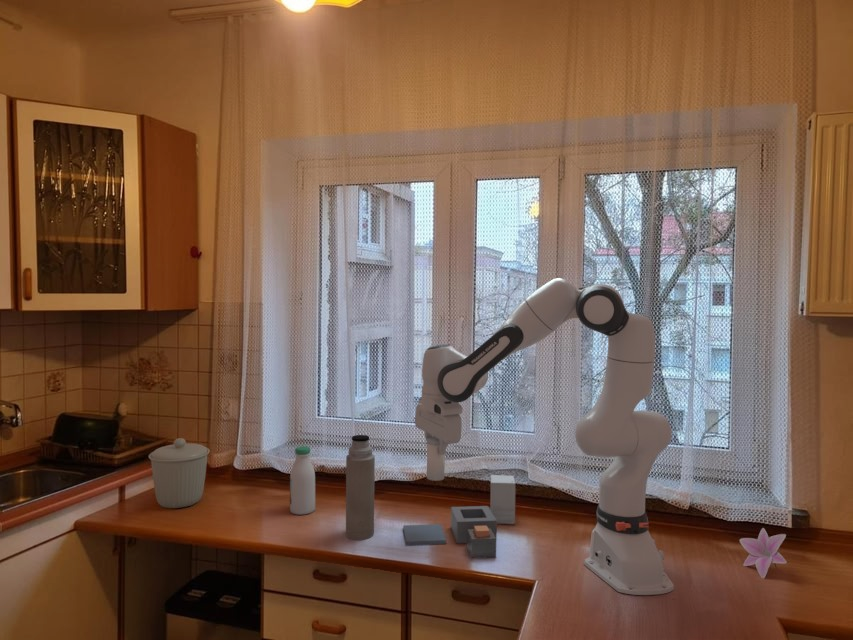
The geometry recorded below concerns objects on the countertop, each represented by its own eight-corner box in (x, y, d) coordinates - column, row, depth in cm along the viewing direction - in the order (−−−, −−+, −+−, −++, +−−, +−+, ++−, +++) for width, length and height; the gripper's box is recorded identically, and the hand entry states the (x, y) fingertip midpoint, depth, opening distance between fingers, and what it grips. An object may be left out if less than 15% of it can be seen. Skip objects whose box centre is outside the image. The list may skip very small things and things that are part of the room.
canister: (170, 491, 193) (170, 430, 192) (220, 495, 190) (220, 433, 190) (136, 511, 175) (135, 444, 174) (190, 515, 173) (190, 447, 172)
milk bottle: (320, 509, 178) (320, 446, 178) (302, 517, 172) (302, 452, 171) (302, 504, 183) (302, 443, 182) (284, 512, 176) (284, 448, 175)
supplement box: (513, 515, 176) (514, 475, 175) (515, 525, 168) (515, 483, 168) (489, 514, 176) (490, 474, 176) (490, 523, 169) (490, 481, 168)
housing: (496, 541, 156) (496, 520, 156) (457, 543, 155) (457, 521, 155) (487, 525, 167) (488, 505, 167) (450, 527, 166) (451, 507, 166)
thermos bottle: (361, 525, 166) (362, 431, 165) (379, 533, 161) (380, 436, 160) (340, 533, 160) (340, 436, 159) (358, 542, 155) (358, 441, 154)
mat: (446, 543, 155) (446, 540, 155) (406, 545, 153) (406, 541, 153) (440, 527, 166) (440, 524, 166) (403, 528, 164) (403, 525, 164)
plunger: (489, 553, 148) (489, 530, 148) (476, 553, 148) (476, 531, 147) (486, 547, 151) (486, 525, 151) (473, 548, 151) (474, 525, 151)
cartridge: (443, 481, 157) (444, 441, 156) (425, 480, 157) (426, 440, 156) (444, 474, 162) (445, 436, 161) (427, 474, 162) (428, 435, 161)
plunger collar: (495, 557, 147) (496, 538, 147) (471, 558, 146) (471, 539, 146) (490, 546, 153) (490, 528, 153) (467, 547, 152) (467, 529, 152)
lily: (738, 558, 150) (727, 530, 148) (784, 546, 147) (774, 518, 145) (757, 594, 139) (745, 565, 137) (807, 582, 136) (797, 552, 134)
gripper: (410, 396, 166) (409, 442, 167) (445, 411, 148) (444, 462, 149) (428, 394, 169) (427, 439, 170) (466, 409, 151) (464, 459, 152)
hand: (435, 450), depth 159 cm, fingers closed on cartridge, 5 cm apart
